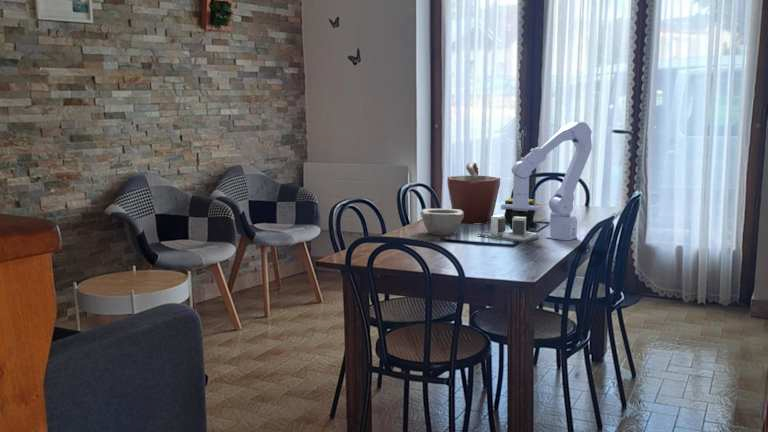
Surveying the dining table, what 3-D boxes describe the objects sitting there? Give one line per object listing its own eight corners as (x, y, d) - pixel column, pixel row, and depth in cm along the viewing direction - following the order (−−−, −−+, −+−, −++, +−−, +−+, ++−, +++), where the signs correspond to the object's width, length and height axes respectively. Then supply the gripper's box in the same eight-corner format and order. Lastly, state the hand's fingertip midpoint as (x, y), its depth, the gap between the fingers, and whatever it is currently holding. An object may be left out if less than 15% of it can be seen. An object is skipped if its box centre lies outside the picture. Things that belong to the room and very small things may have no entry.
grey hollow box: (538, 238, 269) (539, 217, 268) (524, 242, 261) (525, 221, 260) (492, 232, 282) (492, 212, 280) (477, 236, 273) (478, 216, 272)
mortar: (463, 230, 286) (464, 207, 285) (463, 238, 270) (463, 214, 268) (421, 229, 288) (422, 207, 287) (419, 237, 272) (419, 213, 270)
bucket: (486, 227, 292) (488, 166, 288) (436, 223, 302) (437, 164, 298) (503, 218, 314) (505, 161, 310) (456, 214, 324) (457, 159, 320)
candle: (503, 223, 300) (504, 200, 299) (510, 220, 309) (511, 197, 308) (527, 225, 296) (527, 202, 294) (533, 222, 305) (534, 199, 303)
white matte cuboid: (514, 234, 270) (514, 216, 269) (527, 235, 268) (527, 217, 267) (511, 236, 267) (511, 218, 266) (524, 237, 265) (525, 218, 264)
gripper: (542, 193, 266) (541, 229, 268) (504, 191, 272) (503, 226, 274) (538, 195, 260) (537, 232, 262) (499, 193, 265) (498, 229, 268)
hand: (519, 229), depth 268 cm, fingers open, 5 cm apart
